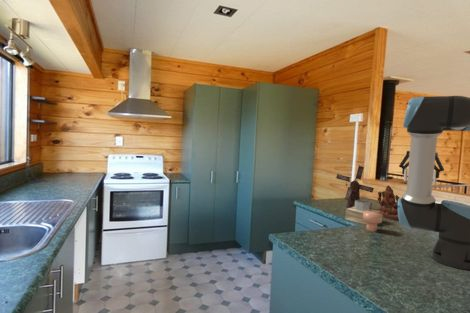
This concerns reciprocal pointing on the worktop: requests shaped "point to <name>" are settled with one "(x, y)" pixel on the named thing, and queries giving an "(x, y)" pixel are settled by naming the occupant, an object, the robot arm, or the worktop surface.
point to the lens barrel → (363, 205)
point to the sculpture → (388, 204)
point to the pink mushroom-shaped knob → (372, 220)
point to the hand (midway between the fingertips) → (419, 182)
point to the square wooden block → (356, 215)
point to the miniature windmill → (354, 188)
